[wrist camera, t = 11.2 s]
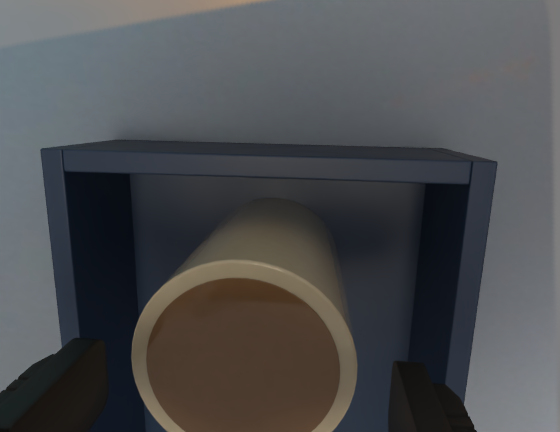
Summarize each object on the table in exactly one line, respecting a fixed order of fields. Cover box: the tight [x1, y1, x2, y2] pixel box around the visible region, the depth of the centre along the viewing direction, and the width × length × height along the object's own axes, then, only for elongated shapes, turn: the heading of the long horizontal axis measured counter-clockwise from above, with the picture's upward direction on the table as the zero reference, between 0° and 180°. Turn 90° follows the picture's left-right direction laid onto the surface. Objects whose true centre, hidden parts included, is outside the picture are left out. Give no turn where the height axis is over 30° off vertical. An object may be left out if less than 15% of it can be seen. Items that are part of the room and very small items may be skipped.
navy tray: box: [41, 140, 497, 432], centre depth 20 cm, size 26×16×6 cm, turn 179°
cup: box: [131, 198, 358, 432], centre depth 16 cm, size 7×7×9 cm
